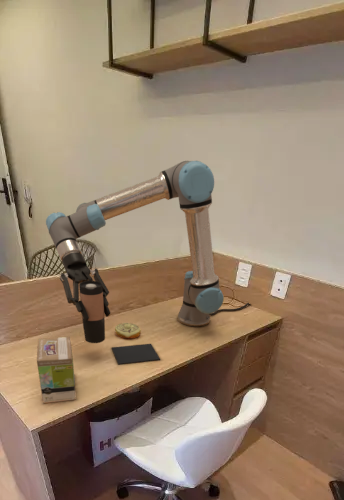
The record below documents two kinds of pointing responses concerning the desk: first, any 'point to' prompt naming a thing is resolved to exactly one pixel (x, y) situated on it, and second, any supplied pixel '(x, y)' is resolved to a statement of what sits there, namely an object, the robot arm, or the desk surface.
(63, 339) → the tea box
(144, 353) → the desk mat
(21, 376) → the desk surface
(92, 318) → the travel mug
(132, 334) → the decorated donut
